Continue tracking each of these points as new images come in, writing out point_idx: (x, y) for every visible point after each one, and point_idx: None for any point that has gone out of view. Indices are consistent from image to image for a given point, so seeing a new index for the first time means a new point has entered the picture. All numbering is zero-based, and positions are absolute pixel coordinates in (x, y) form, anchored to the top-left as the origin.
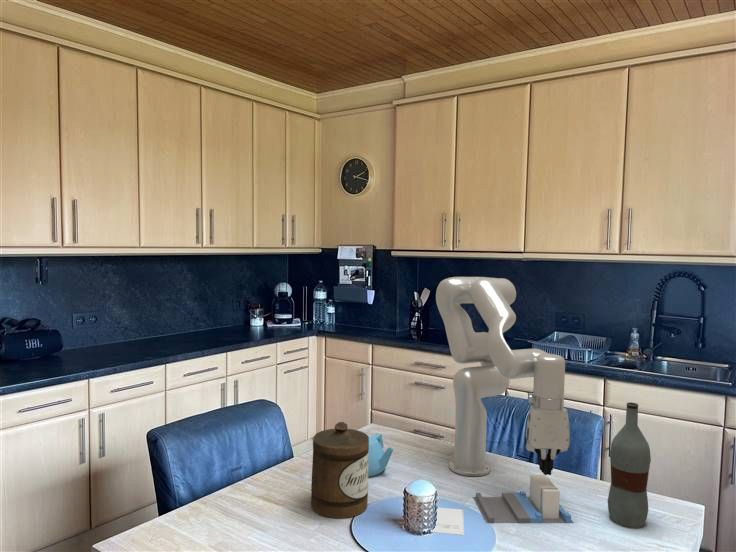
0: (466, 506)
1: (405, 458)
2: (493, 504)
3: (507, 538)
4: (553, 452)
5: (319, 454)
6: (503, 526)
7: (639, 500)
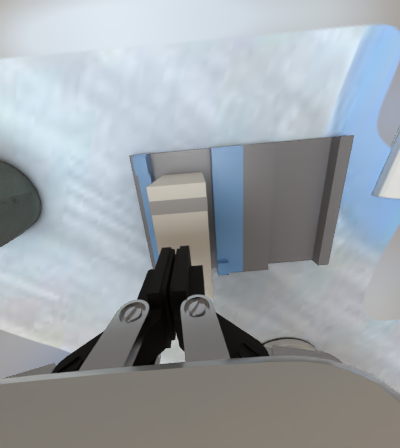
0: (348, 227)
1: None
2: (295, 230)
3: (318, 72)
4: (116, 346)
5: None
6: (303, 139)
7: None
